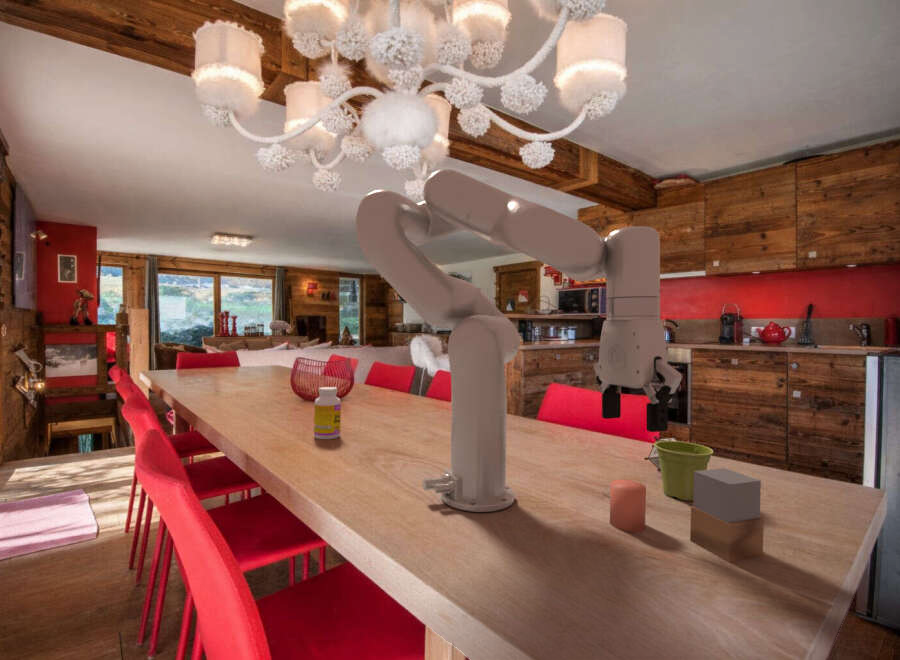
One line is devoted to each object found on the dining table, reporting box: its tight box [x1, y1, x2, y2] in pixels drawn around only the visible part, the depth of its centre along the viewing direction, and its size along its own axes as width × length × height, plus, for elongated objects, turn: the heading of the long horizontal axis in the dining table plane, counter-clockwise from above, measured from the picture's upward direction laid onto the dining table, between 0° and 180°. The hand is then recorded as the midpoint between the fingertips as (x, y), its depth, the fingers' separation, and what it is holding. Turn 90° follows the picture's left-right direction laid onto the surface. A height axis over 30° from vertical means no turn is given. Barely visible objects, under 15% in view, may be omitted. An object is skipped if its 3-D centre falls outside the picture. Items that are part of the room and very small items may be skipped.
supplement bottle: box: [313, 386, 342, 440], centre depth 118 cm, size 7×7×13 cm
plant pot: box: [653, 440, 714, 502], centre depth 81 cm, size 9×9×9 cm
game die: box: [643, 434, 683, 472], centre depth 91 cm, size 9×8×10 cm
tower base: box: [689, 505, 765, 563], centre depth 61 cm, size 6×6×5 cm
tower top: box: [692, 467, 762, 523], centre depth 61 cm, size 6×6×5 cm
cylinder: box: [609, 479, 647, 533], centre depth 68 cm, size 5×5×6 cm
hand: (632, 424), depth 68 cm, fingers open, 9 cm apart
